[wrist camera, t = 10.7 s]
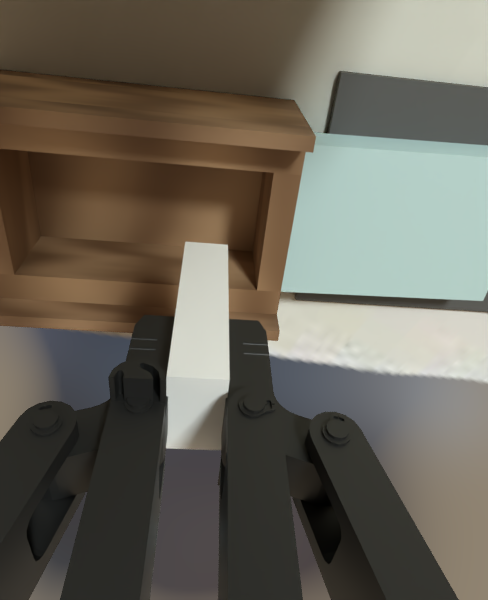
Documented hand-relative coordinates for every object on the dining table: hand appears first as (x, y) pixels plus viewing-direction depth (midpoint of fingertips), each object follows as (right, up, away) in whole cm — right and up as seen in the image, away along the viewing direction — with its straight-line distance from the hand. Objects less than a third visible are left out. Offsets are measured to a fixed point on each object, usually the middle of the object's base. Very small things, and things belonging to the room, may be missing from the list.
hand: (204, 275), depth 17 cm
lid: (+10, +4, +9) cm, 14 cm away
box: (-4, +5, +8) cm, 10 cm away
